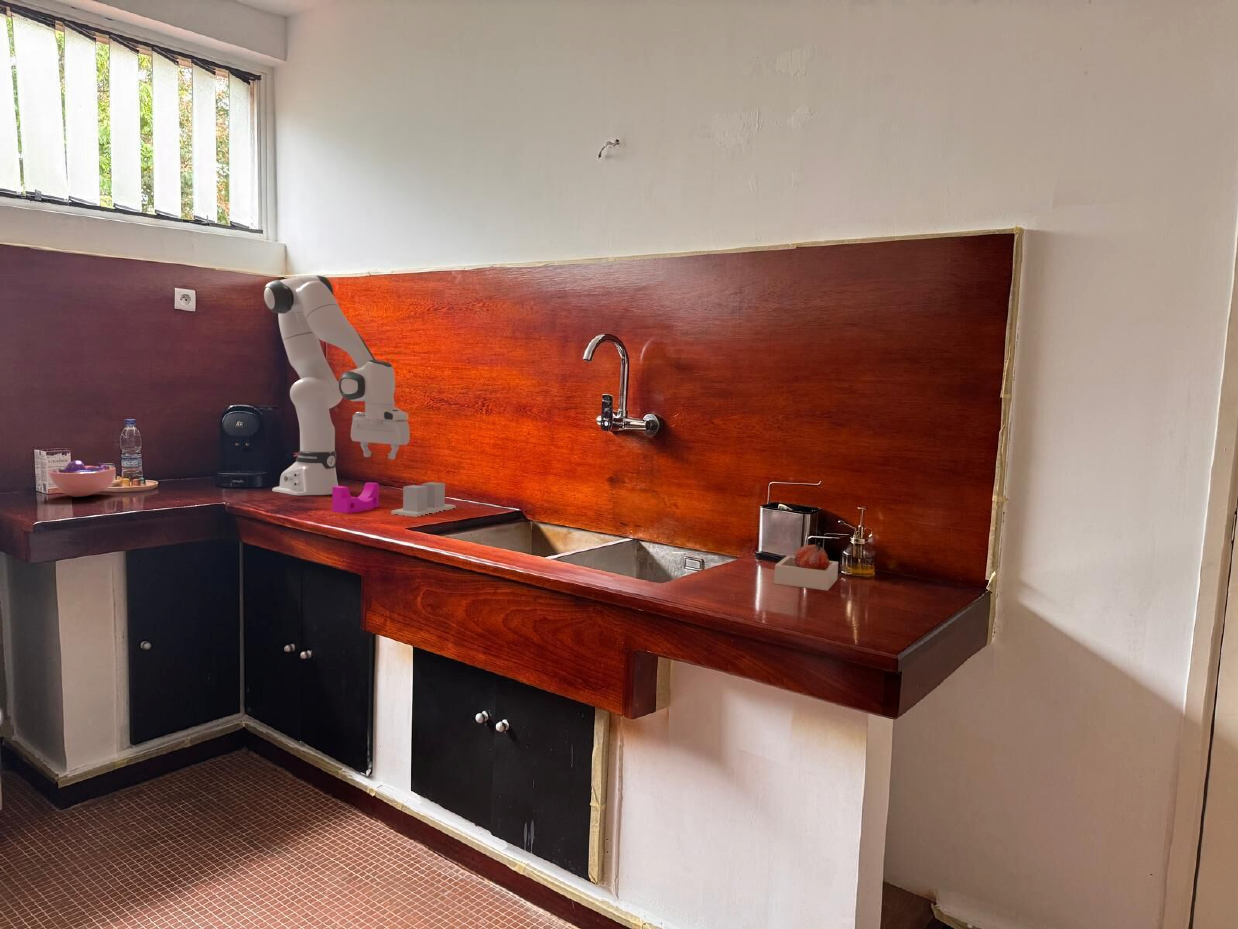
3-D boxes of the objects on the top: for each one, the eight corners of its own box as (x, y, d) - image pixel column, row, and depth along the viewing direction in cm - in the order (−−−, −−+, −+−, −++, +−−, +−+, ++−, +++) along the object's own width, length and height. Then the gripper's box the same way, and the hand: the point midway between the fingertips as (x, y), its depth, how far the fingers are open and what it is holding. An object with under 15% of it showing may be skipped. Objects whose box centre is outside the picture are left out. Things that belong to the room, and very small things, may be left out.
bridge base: (391, 514, 257) (391, 487, 257) (431, 505, 276) (431, 480, 275) (416, 517, 254) (416, 489, 253) (455, 508, 272) (455, 482, 271)
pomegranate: (783, 572, 193) (795, 532, 190) (813, 574, 195) (825, 534, 192) (797, 589, 187) (809, 548, 183) (827, 591, 188) (840, 550, 185)
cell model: (131, 492, 280) (131, 457, 278) (83, 501, 260) (82, 463, 259) (85, 489, 282) (84, 455, 281) (34, 498, 263) (32, 461, 262)
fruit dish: (773, 583, 188) (774, 565, 188) (786, 573, 198) (787, 555, 198) (827, 590, 183) (828, 572, 183) (837, 579, 194) (838, 561, 193)
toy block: (347, 514, 256) (347, 488, 255) (332, 511, 259) (332, 486, 259) (384, 508, 269) (384, 484, 268) (370, 506, 272) (370, 482, 271)
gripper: (346, 411, 270) (346, 456, 271) (399, 415, 262) (399, 460, 263) (359, 411, 276) (359, 454, 277) (412, 414, 267) (412, 459, 269)
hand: (379, 457), depth 270 cm, fingers open, 8 cm apart
